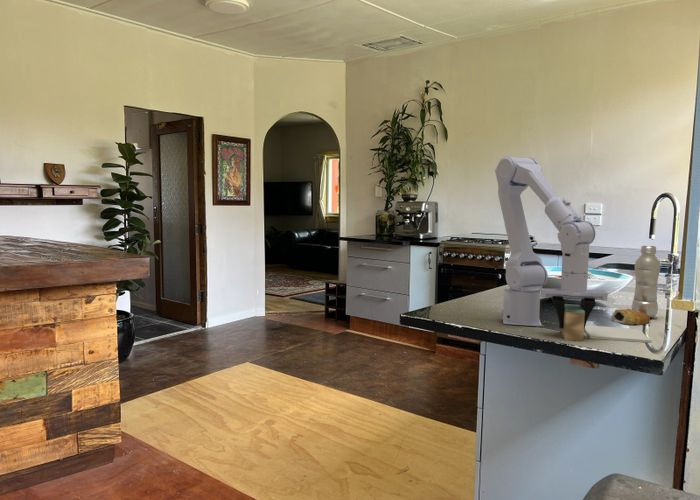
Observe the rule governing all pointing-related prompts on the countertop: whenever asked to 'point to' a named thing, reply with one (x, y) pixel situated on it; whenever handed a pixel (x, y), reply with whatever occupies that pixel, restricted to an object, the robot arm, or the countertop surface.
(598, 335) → the mat
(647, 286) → the plastic bottle
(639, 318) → the pastry
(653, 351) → the countertop surface
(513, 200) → the robot arm
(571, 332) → the tan green block
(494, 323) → the countertop surface
